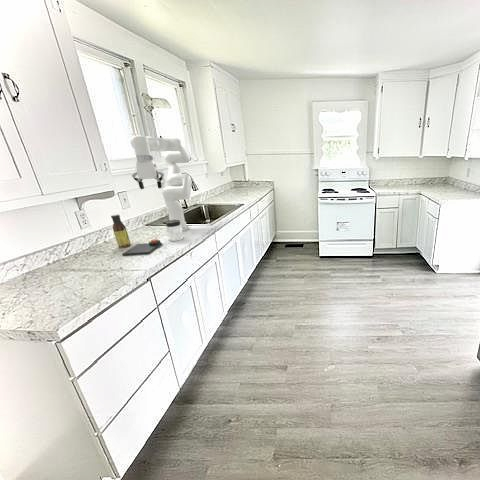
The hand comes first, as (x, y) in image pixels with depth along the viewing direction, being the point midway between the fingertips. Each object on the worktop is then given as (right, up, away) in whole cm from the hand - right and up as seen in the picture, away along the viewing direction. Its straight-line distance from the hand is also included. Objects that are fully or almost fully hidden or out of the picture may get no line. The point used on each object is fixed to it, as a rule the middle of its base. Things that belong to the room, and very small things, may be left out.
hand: (151, 188), depth 157 cm
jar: (+6, -30, +16) cm, 35 cm away
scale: (-3, -37, -2) cm, 37 cm away
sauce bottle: (-19, -35, +4) cm, 40 cm away
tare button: (+1, -32, +2) cm, 32 cm away
